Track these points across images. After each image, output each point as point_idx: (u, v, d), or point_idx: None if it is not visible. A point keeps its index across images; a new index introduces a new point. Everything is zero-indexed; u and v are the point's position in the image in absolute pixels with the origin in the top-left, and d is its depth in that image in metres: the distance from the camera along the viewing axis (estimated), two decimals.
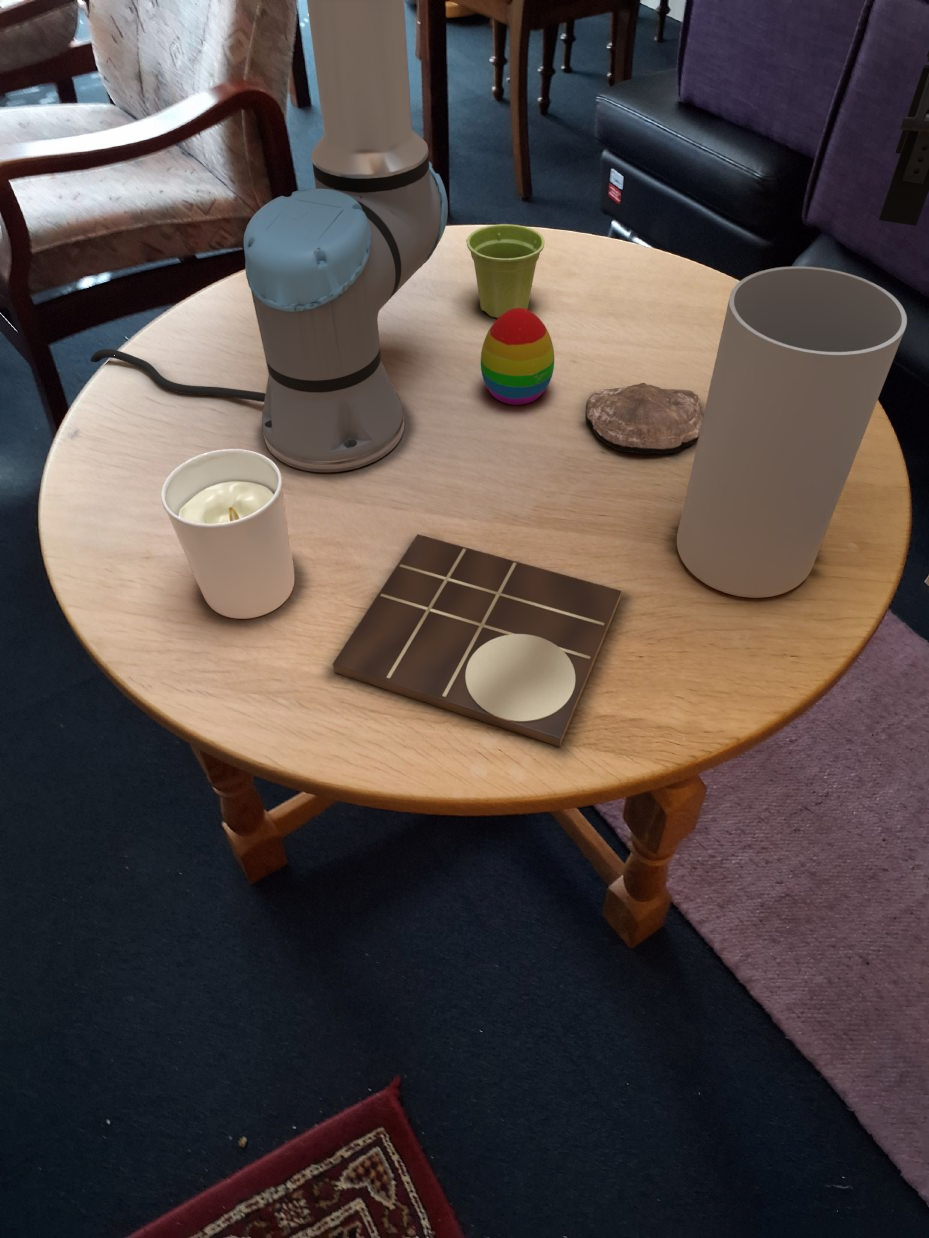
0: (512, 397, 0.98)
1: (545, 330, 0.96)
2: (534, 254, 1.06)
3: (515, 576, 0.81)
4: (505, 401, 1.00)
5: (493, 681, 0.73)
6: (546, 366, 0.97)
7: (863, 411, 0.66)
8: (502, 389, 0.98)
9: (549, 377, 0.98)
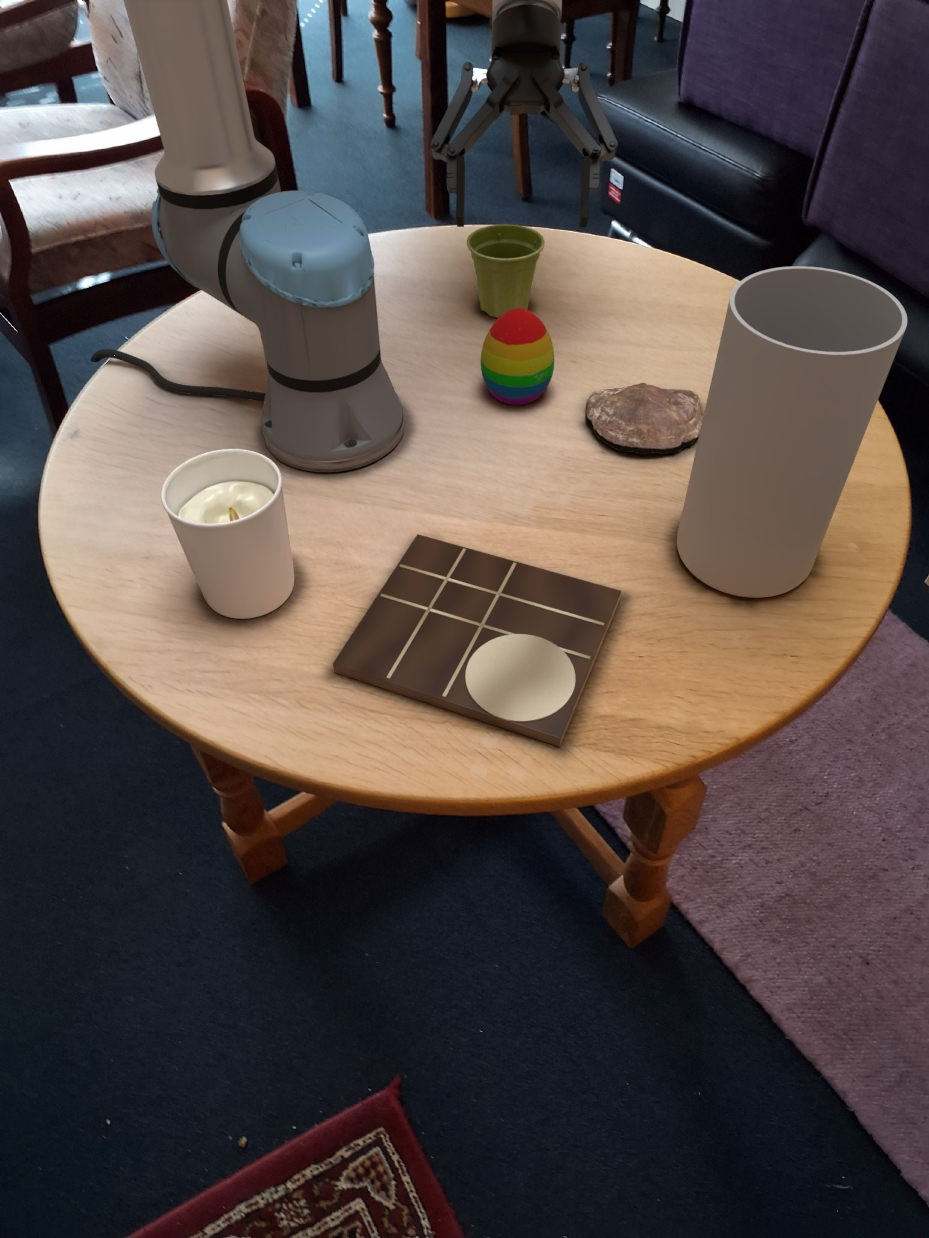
0: (512, 397, 0.98)
1: (545, 330, 0.96)
2: (534, 254, 1.06)
3: (515, 576, 0.81)
4: (505, 401, 1.00)
5: (493, 681, 0.73)
6: (546, 366, 0.97)
7: (863, 411, 0.66)
8: (502, 389, 0.98)
9: (549, 377, 0.98)
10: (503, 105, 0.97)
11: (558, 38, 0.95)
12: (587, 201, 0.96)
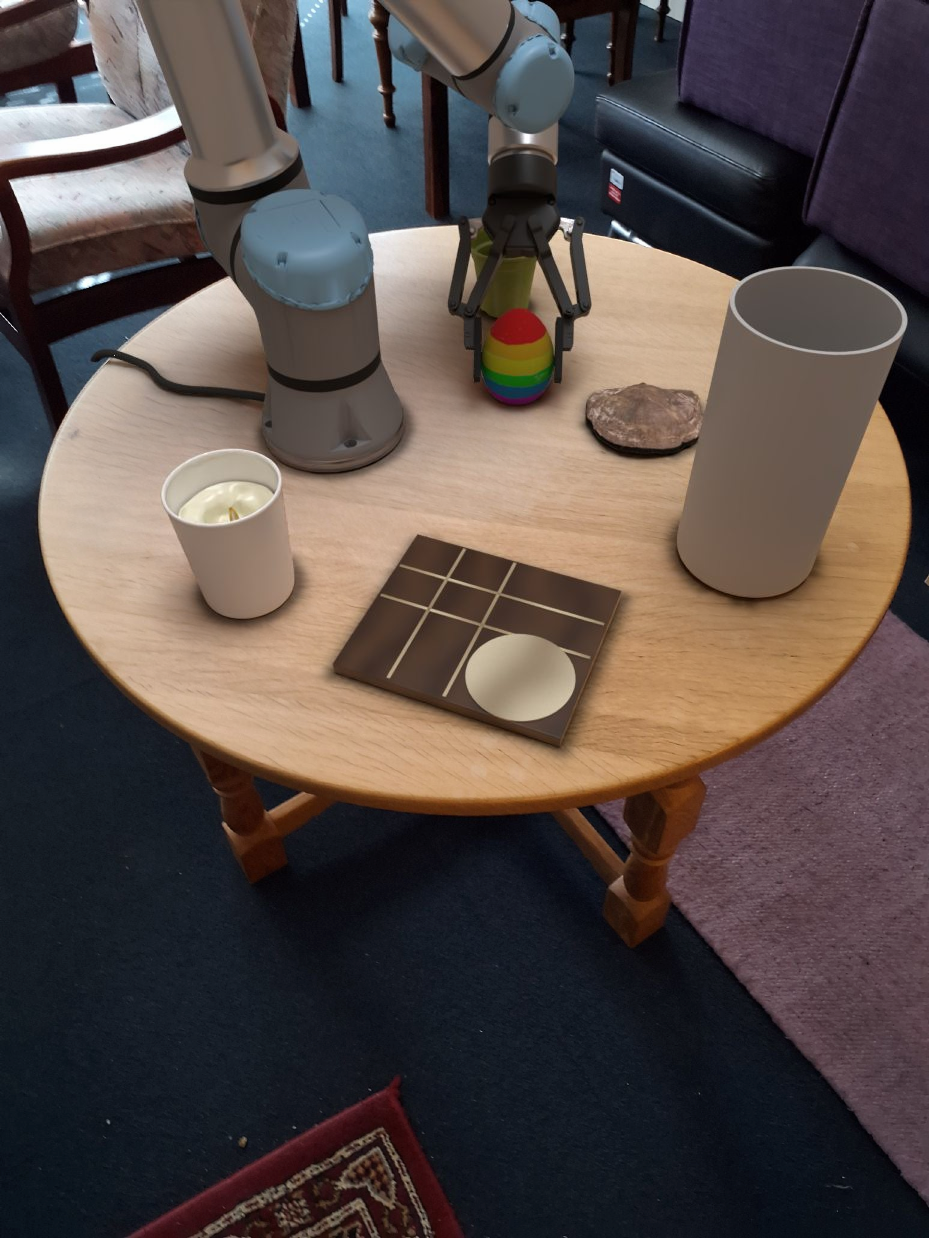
0: (512, 397, 0.98)
1: (545, 330, 0.96)
2: None
3: (515, 576, 0.81)
4: (505, 401, 1.00)
5: (493, 681, 0.73)
6: (546, 366, 0.97)
7: (863, 411, 0.66)
8: (501, 389, 0.98)
9: (549, 377, 0.98)
10: None
11: (554, 184, 0.94)
12: (560, 362, 0.96)
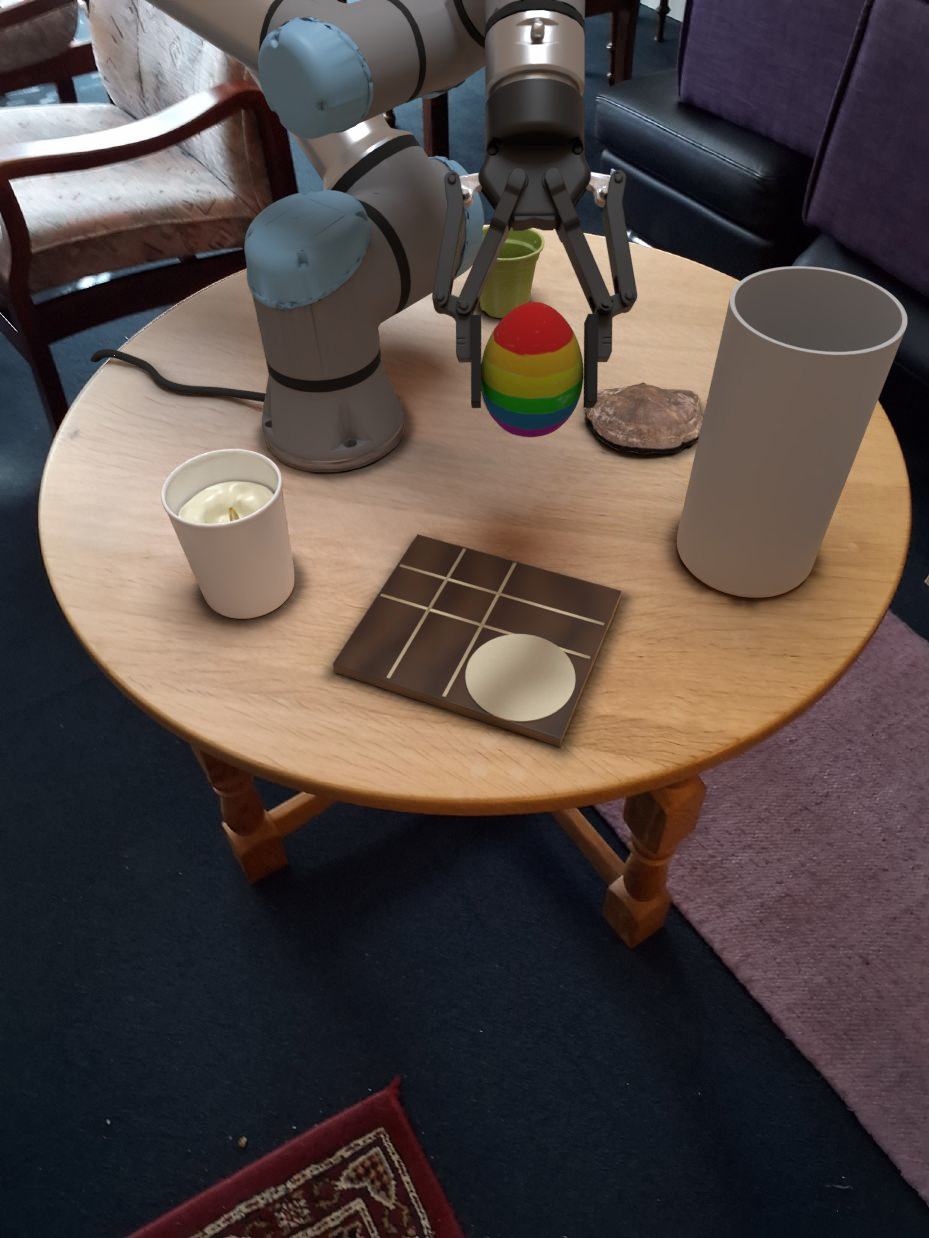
0: (526, 428, 0.70)
1: (572, 333, 0.68)
2: (534, 254, 1.06)
3: (515, 576, 0.81)
4: (515, 433, 0.71)
5: (493, 681, 0.73)
6: (574, 384, 0.68)
7: (863, 411, 0.66)
8: (511, 417, 0.69)
9: (577, 399, 0.70)
10: None
11: (582, 124, 0.66)
12: (595, 377, 0.67)
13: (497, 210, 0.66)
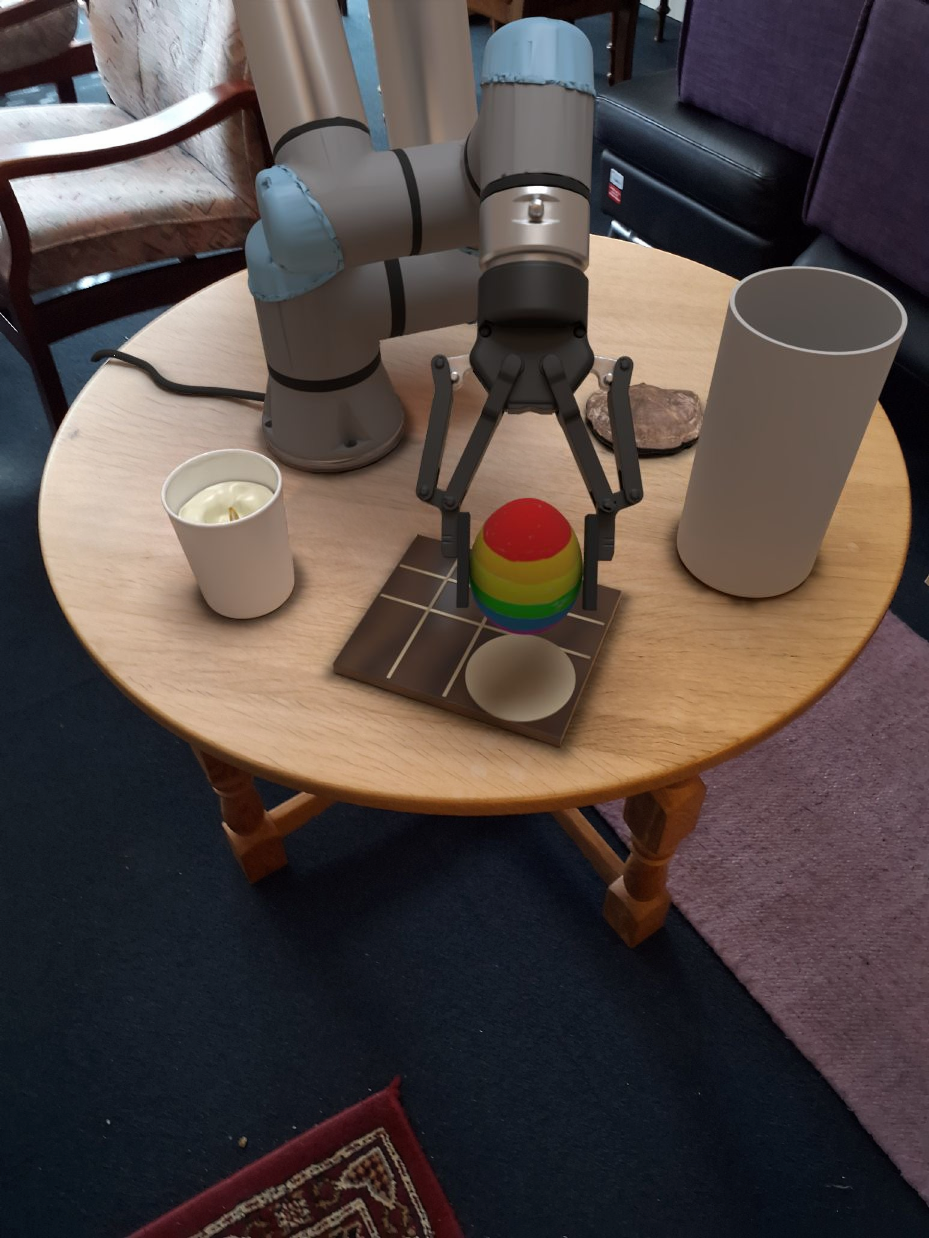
0: (518, 629, 0.63)
1: (570, 533, 0.61)
2: None
3: None
4: (507, 631, 0.65)
5: (493, 681, 0.73)
6: (571, 587, 0.62)
7: (863, 411, 0.66)
8: (501, 619, 0.63)
9: (575, 598, 0.63)
10: None
11: (585, 306, 0.59)
12: (594, 584, 0.60)
13: (489, 399, 0.60)
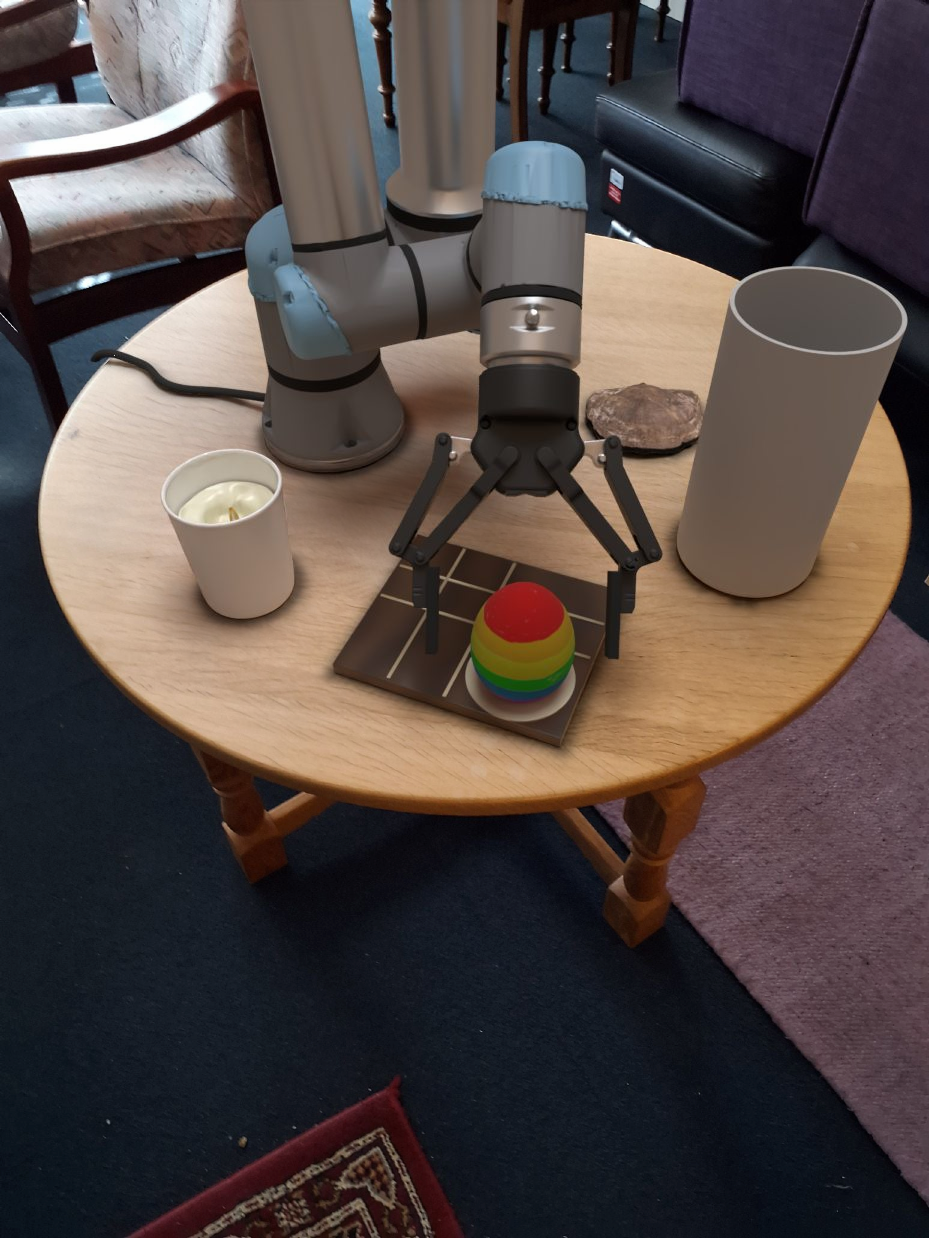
0: (515, 699, 0.69)
1: (563, 614, 0.67)
2: None
3: (515, 576, 0.81)
4: (505, 699, 0.71)
5: None
6: (564, 663, 0.68)
7: (863, 411, 0.66)
8: (500, 691, 0.69)
9: (568, 671, 0.69)
10: (495, 489, 0.67)
11: (576, 402, 0.65)
12: (617, 635, 0.66)
13: (488, 486, 0.65)
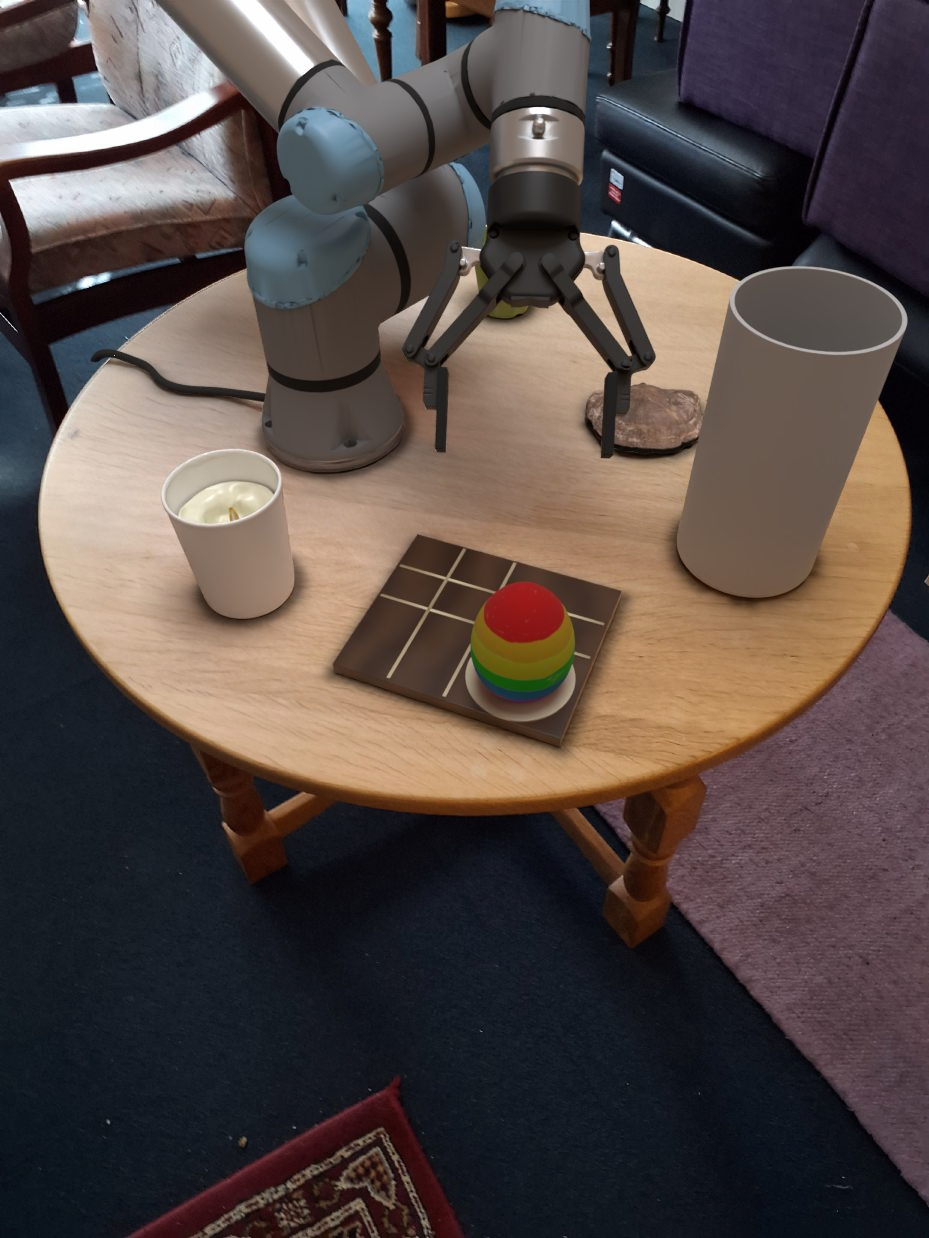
0: (515, 699, 0.69)
1: (563, 614, 0.67)
2: None
3: (515, 576, 0.81)
4: (505, 699, 0.71)
5: None
6: (564, 663, 0.68)
7: (863, 411, 0.66)
8: (500, 691, 0.69)
9: (568, 671, 0.69)
10: (501, 297, 0.72)
11: (578, 213, 0.70)
12: (612, 432, 0.71)
13: (495, 290, 0.71)
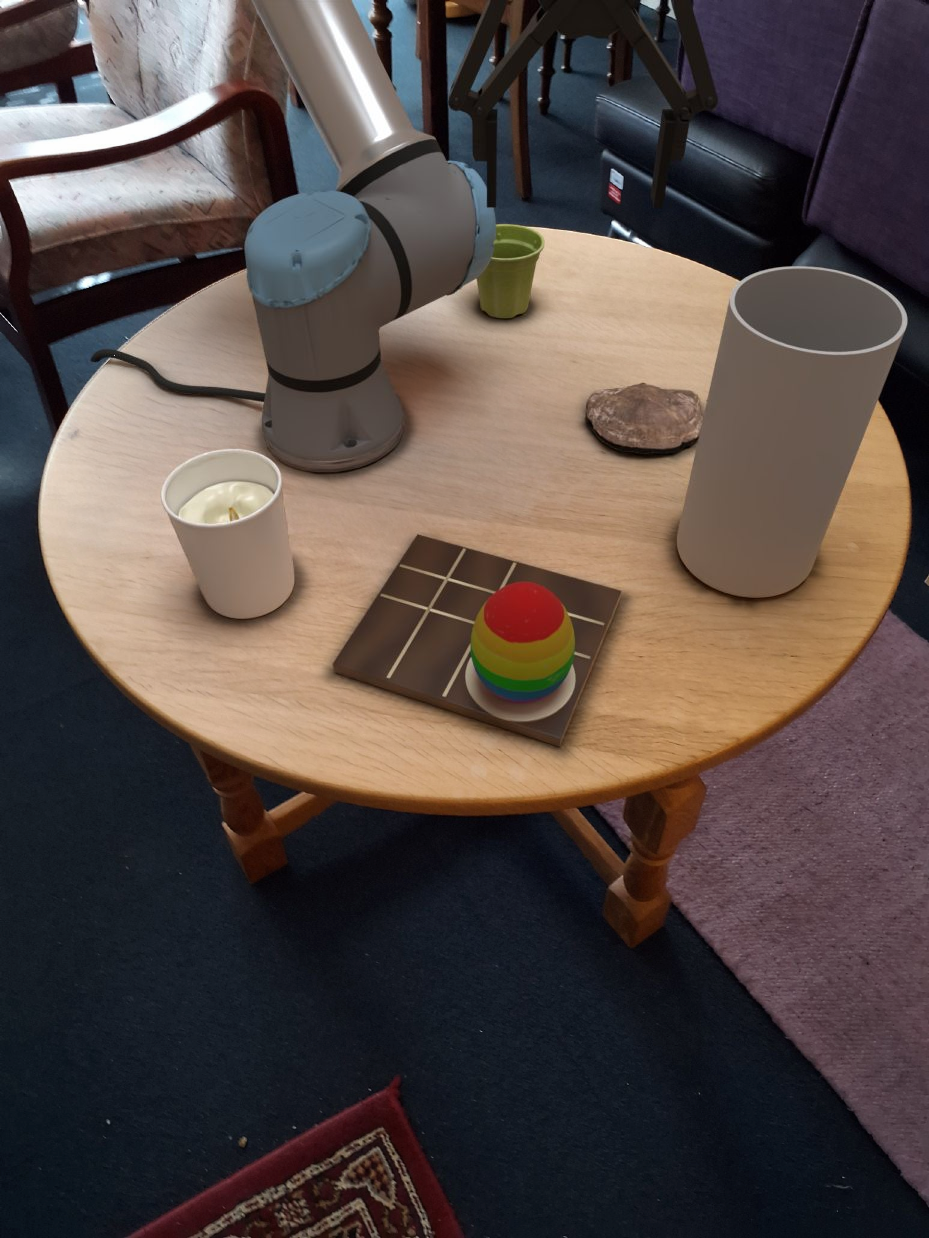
0: (515, 699, 0.69)
1: (563, 614, 0.67)
2: (534, 254, 1.06)
3: (515, 576, 0.81)
4: (505, 699, 0.71)
5: None
6: (564, 663, 0.68)
7: (863, 411, 0.66)
8: (500, 691, 0.69)
9: (568, 671, 0.69)
10: None
11: None
12: (664, 186, 0.71)
13: (548, 33, 0.64)
